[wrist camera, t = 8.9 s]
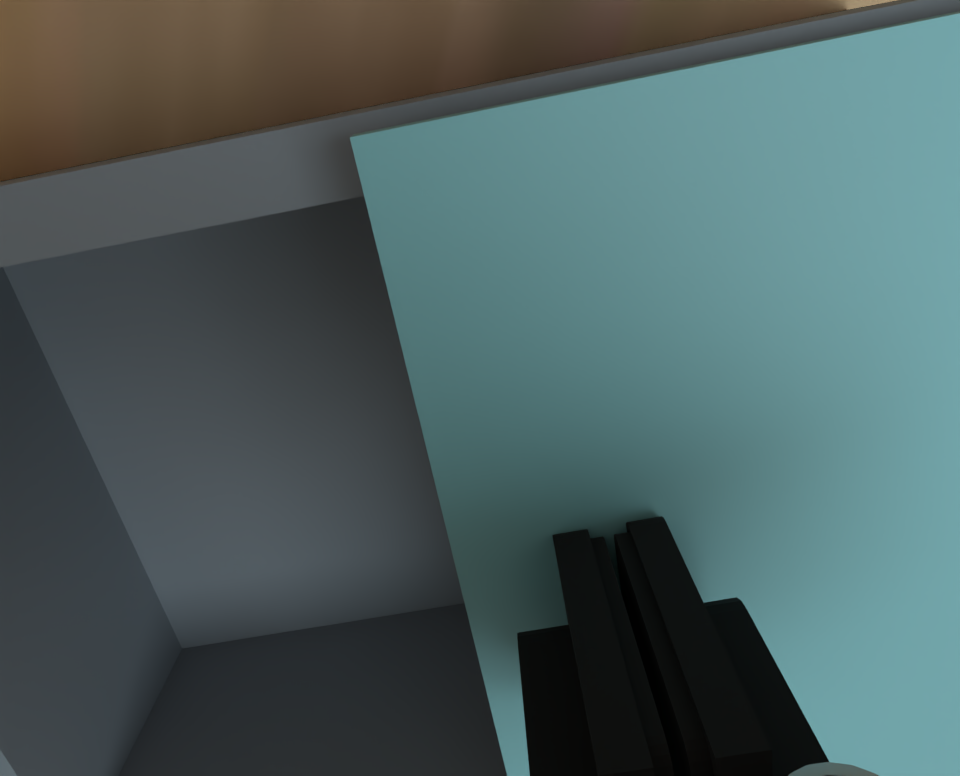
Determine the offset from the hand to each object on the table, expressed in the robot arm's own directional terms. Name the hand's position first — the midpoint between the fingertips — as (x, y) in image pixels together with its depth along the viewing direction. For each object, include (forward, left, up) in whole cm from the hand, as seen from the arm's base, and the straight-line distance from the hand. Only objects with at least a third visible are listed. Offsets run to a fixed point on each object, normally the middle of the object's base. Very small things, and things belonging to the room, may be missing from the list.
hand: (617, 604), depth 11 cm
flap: (0, +3, -1) cm, 3 cm away
